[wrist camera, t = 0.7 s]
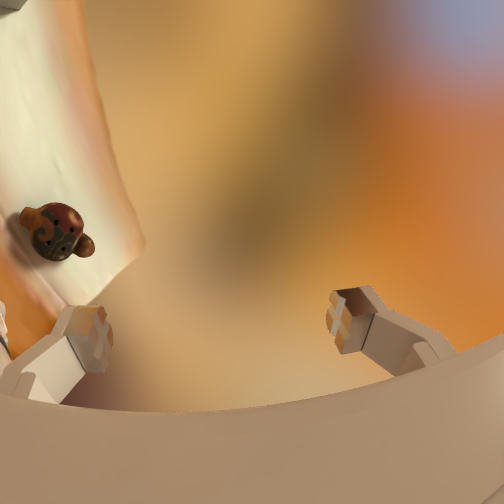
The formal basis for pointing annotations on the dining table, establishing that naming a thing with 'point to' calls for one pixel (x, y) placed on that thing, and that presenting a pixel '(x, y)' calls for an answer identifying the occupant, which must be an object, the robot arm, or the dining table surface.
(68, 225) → the decorative turtle
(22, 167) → the dining table surface
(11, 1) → the tall grey rectangular prism
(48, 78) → the dining table surface
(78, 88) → the dining table surface
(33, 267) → the dining table surface
